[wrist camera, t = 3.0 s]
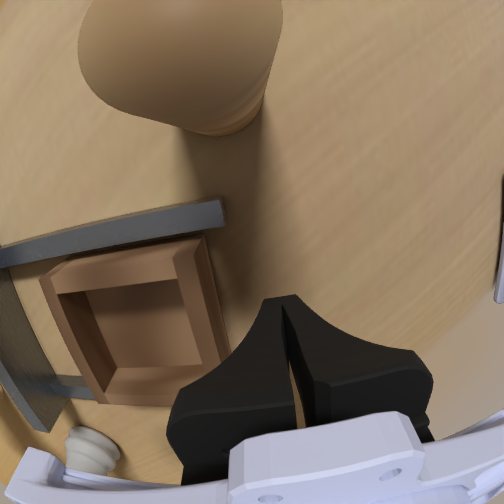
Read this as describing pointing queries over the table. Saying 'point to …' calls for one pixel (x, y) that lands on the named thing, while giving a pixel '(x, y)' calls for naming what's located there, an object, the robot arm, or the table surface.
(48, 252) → the rail
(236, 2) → the oak dowel
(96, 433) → the rook chess piece
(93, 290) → the walnut socket block
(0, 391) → the cup with straw
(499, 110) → the table surface
